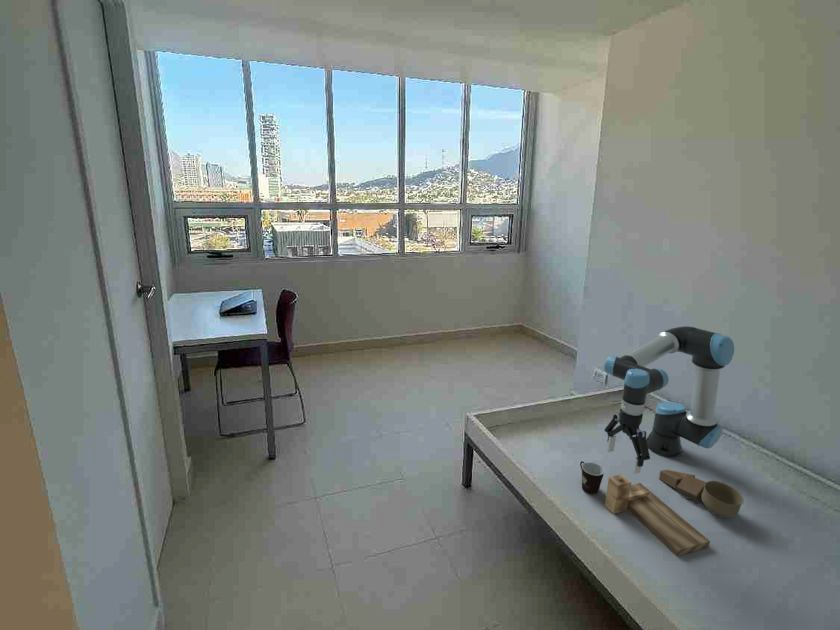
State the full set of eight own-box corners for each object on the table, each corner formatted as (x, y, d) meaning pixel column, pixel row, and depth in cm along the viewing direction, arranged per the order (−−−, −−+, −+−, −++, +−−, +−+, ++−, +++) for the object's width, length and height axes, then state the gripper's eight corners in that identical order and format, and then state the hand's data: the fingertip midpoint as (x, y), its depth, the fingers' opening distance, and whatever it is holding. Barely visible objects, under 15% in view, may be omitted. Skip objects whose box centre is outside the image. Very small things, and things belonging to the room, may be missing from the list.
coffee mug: (603, 497, 174) (606, 476, 171) (580, 494, 176) (583, 473, 173) (597, 479, 185) (600, 459, 182) (576, 476, 187) (579, 456, 184)
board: (639, 487, 180) (640, 482, 179) (708, 546, 151) (710, 540, 150) (611, 494, 176) (612, 489, 175) (677, 556, 147) (678, 550, 146)
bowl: (726, 530, 158) (732, 507, 155) (691, 507, 169) (696, 486, 166) (745, 518, 164) (751, 496, 161) (710, 497, 175) (715, 476, 172)
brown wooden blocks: (675, 478, 191) (716, 500, 174) (653, 482, 186) (693, 504, 170) (678, 462, 190) (718, 482, 174) (656, 465, 185) (696, 486, 169)
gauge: (640, 496, 175) (645, 467, 171) (650, 504, 170) (655, 475, 166) (604, 505, 170) (609, 475, 166) (613, 513, 165) (618, 483, 162)
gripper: (599, 396, 167) (592, 444, 173) (650, 430, 144) (640, 484, 150) (615, 394, 169) (608, 441, 175) (667, 427, 146) (657, 480, 152)
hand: (622, 461), depth 162 cm, fingers open, 13 cm apart
